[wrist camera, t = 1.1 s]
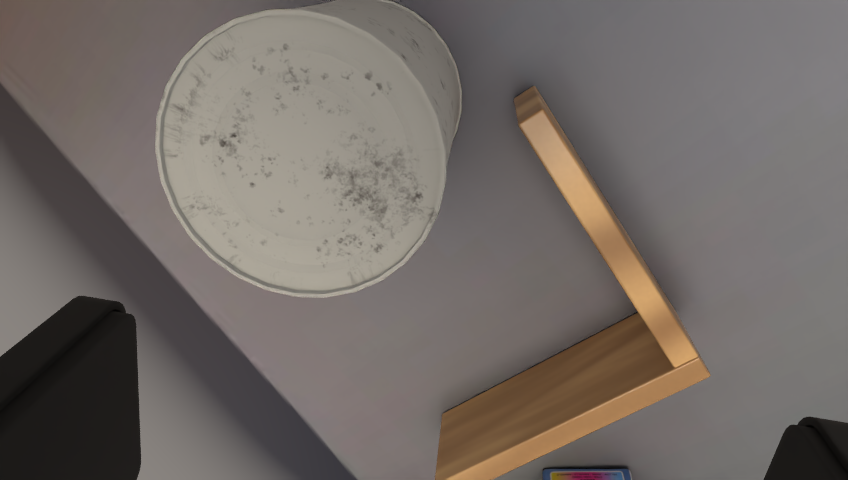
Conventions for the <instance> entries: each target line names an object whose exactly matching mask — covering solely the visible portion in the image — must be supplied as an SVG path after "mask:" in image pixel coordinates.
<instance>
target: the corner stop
mask: <svg viewBox="0 0 848 480" xmlns="http://www.w3.org/2000/svg"><path fill="white" fill-rule="evenodd" d="M514 104H515V109H516V115H517V121H518V126H519V128H520V129H521V131H522V132H523V134H524V135H525V137H526V139H527V140H528V142H529V143H530V145H531V146H532V148H533V149H534V151H535V153H536V154H537V156H538V157H539V159H540V160H541V162H542V163H543V165H544V167H545V168H546V170H547V171H548V173H549V174H550V176H551V177H552V179H553V181H554V182H555V184H556V185H557V187H558V188H559V190H560V191H561V193H562V195H563V196H564V198H565V199H566V201H567V202H568V204H569V205H570V207H571V208H572V210H573V212H574V213H575V215H576V216H577V218H578V219H579V221H580V222H581V224H582V226H583V227H584V229H585V230H586V232H587V233H588V235H589V236H590V238H591V240H592V241H593V243H594V244H595V246H596V247H597V249H598V250H599V252H600V254H601V255H602V257H603V258H604V260H605V261H606V263H607V264H608V266H609V268H610V269H611V271H612V272H613V274H614V275H615V277H616V278H617V280H618V282H619V283H620V285H621V286H622V288H623V289H624V291H625V292H626V294H627V296H628V297H629V299H630V300H631V302H632V303H633V305H634V306H635V308H636V310H637V311H638V313H636V314H634V315H632V316H630V317H628V318H627V319H625V320H623V321H621V322H619V323H617V324H615V325H613V326H611V327H609V328H607V329H605V330H603V331H601V332H600V333H598V334H596V335H594V336H592V337H590V338H588V339H586V340H584V341H582V342H580V343H578V344H576V345H574V346H572V347H571V348H569V349H567V350H565V351H563V352H561V353H559V354H557V355H555V356H553V357H551V358H549V359H547V360H545V361H544V362H542V363H540V364H538V365H536V366H534V367H532V368H530V369H528V370H526V371H524V372H522V373H520V374H518V375H516V376H515V377H513V378H511V379H509V380H507V381H505V382H503V383H501V384H499V385H497V386H495V387H493V388H491V389H489V390H488V391H486V392H484V393H482V394H480V395H478V396H476V397H474V398H472V399H470V400H468V401H466V402H464V403H462V404H460V405H459V406H457V407H455V408H453V409H451V410H449V411H447V412H445V413H443V414H442V421H441V430H440V439H439V448H438V457H437V466H436V475H435V480H492V479H494V478H496V477H498V476H501V475H503V474H505V473H507V472H509V471H511V470H513V469H515V468H518V467H520V466H522V465H524V464H526V463H528V462H530V461H532V460H535V459H537V458H539V457H541V456H543V455H545V454H547V453H549V452H551V451H554V450H556V449H558V448H560V447H562V446H564V445H566V444H568V443H571V442H573V441H575V440H577V439H579V438H581V437H583V436H585V435H587V434H590V433H592V432H594V431H596V430H598V429H600V428H602V427H604V426H607V425H609V424H611V423H613V422H615V421H617V420H619V419H621V418H623V417H626V416H628V415H630V414H632V413H634V412H636V411H638V410H640V409H643V408H645V407H647V406H649V405H651V404H653V403H655V402H657V401H660V400H662V399H664V398H666V397H668V396H670V395H672V394H674V393H676V392H679V391H681V390H683V389H685V388H687V387H689V386H691V385H693V384H696V383H698V382H700V381H702V380H704V379H706V378H708V377H710V373H709V371H708V369H707V367H706V365H705V364H704V362H703V360H702V358H701V356H700V354H699V353H698V351H697V349H696V347H695V345H694V344H693V342H692V340H691V338H690V336H689V334H688V333H687V331H686V329H685V327H684V325H683V323H682V322H681V320H680V318H679V316H678V314H677V313H676V311H675V309H674V308H673V306H672V305H671V303H670V301H669V300H668V299H667V297H666V295H665V293H664V292H663V290H662V289H661V287H660V285H659V284H658V282H657V281H656V279H655V277H654V276H653V274H652V273H651V271H650V269H649V268H648V266H647V265H646V263H645V261H644V260H643V258H642V257H641V255H640V253H639V252H638V250H637V249H636V247H635V245H634V244H633V242H632V241H631V239H630V237H629V236H628V234H627V233H626V231H625V229H624V228H623V226H622V225H621V223H620V221H619V220H618V218H617V217H616V215H615V213H614V212H613V210H612V209H611V207H610V205H609V204H608V202H607V200H606V199H605V197H604V196H603V194H602V192H601V191H600V189H599V188H598V186H597V184H596V183H595V181H594V180H593V178H592V176H591V175H590V173H589V172H588V170H587V168H586V167H585V165H584V164H583V162H582V160H581V159H580V157H579V156H578V154H577V152H576V151H575V149H574V148H573V146H572V144H571V143H570V141H569V140H568V138H567V136H566V135H565V133H564V132H563V130H562V128H561V127H560V125H559V124H558V122H557V120H556V119H555V117H554V116H553V114H552V112H551V111H550V109H549V108H548V106H547V104H546V103H545V101H544V100H543V98H542V96H541V95H540V93H539V92H538V90H537V88H536V87H535V86H532V87H531V88H529V89H528V90H526V91H525V92H523V93H522V94H520V95H519V96H517V97H516V98H514Z"/></svg>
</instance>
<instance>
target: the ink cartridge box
mask: <svg viewBox="0 0 848 480" xmlns="http://www.w3.org/2000/svg"><path fill="white" fill-rule="evenodd" d="M543 480H632V476H631V472H630V470H629V469H545V470H544V471H543Z"/></svg>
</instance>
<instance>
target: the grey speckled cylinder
mask: <svg viewBox="0 0 848 480" xmlns="http://www.w3.org/2000/svg"><path fill="white" fill-rule="evenodd" d="M461 112H462V87H461V82H460V78H459V73H458V69H457V65H456V63H455V61H454V59H453V57H452V55H451V52H450V50H449V48H448V46H447V44H446V43H445V42H444V41H443V39H442V38H441V37H440V35H439V34H438V33H437V32H436V30H435V29H434V28H433V27H432V26H431V25H430V24H429V23H428V22H426V21H425V20H424V19H423V18H421V17H420V16H419V15H418V14H417V13H415V12H414V11H412V10H410V9H408V8H406V7H404V6H402V5H399V4H397V3H395V2H393V1H388V0H335V1H331V2H328V3H323V4H317V5H311V6H306V7H300V8H294V9H267V10H264V11H260V12H256V13H253V14H249V15H245V16H241V17H238V18H234V19H232V20H231V21H229V22H227V23H225V24H224V25H222V26H220V27H218V28H217V29H215V30H213V31H211V32H210V33H208V34H206V35H205V36H204V37H203V38H202V39H201V40H200V41H199V42H198V43H197V44H196V45H195V46H194V47H193V48H192V49H191V50H190V51H189V52H188V53H187V54H186V55H185V56H184V57H183V58H182V59H181V61H180V63H179V64H178V66H177V68H176V69H175V71H174V73H173V74H172V76H171V78H170V79H169V81H168V83H167V84H166V87H165V90H164V94H163V97H162V100H161V104H160V107H159V110H158V114H157V121H156V139H155V151H156V157H157V163H158V169H159V175H160V180H161V183H162V185H163V188H164V190H165V193H166V195H167V198H168V200H169V203H170V205H171V208H172V210H173V212H174V213H175V215H176V216H177V218H178V219H179V221H180V222H181V224H182V226H183V227H184V229H185V230H186V232H187V233H188V235H189V236H190V237H191V238H192V239H193V240H194V241H195V243H196V244H197V245H198V246H199V247H200V248H201V249H202V250H203V251H204V252H205V253H206V254H207V255H208V256H209V257H210V258H211V259H212V260H213V261H215V262H216V263H218V264H219V265H221V266H222V267H223V268H225V269H226V270H228V271H229V272H231V273H232V274H233V275H235V276H236V277H238V278H240V279H242V280H245V281H247V282H249V283H251V284H253V285H256V286H258V287H260V288H262V289H265V290H268V291H272V292H277V293H281V294H285V295H290V296H294V297H320V298H326V297H331V296H337V295H342V294H348V293H353V292H356V291H359V290H361V289H363V288H366V287H368V286H370V285H373V284H375V283H377V282H380V281H382V280H383V279H385V278H386V277H388V276H389V275H390V274H392V273H393V272H394V271H396V270H397V269H399V268H400V267H401V266H403V265H404V264H405V263H406V262H407V261H408V260H409V259H410V258H411V256H412V255H413V254H414V253H415V252H416V251H417V249H418V248H419V247H420V246H421V245H422V244H423V242H424V241H425V240H426V238H427V236H428V234H429V232H430V230H431V228H432V226H433V224H434V222H435V220H436V218H437V216H438V214H439V210H440V206H441V202H442V197H443V193H444V189H445V185H446V167H447V163H448V159H449V155H450V150H451V146H452V142H453V139H454V137H455V135H456V133H457V129H458V124H459V120H460V116H461Z"/></svg>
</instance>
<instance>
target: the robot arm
mask: <svg viewBox="0 0 848 480" xmlns="http://www.w3.org/2000/svg"><path fill="white" fill-rule="evenodd" d="M138 395H139V394H138V368H137V339H136V322H135V318H134V316H133V315H131V314H127V313H126V311H125V308H124V306H123V304H121V303H120V302H117V301H110V300H105V299H99V298H93V297H86V296H78V297H76V298H74V299H72V300H71V301H70V302H69V303H67V304H66V305H65V306H64V307H62V308H61V309H60V310H59V311H57V312H56V313H55V314H54V315H52V316H51V317H50V318H49V319H47V320H46V321H45V322H44V323H42V324H41V325H40V326H38V327H37V328H36V329H35V330H33V331H32V332H31V333H30V334H28V335H27V336H26V337H25V338H23V339H22V340H21V341H20V342H18V343H17V344H16V345H14V346H13V347H12V348H11V349H9V350H8V351H7V352H6V353H4V354H3V355H2V356H1V357H0V480H137V477H138V474H139V471H140V465H141V447H140V421H139V396H138ZM764 480H848V423H844V422H838V421H832V420H826V419H820V418H814V417H806V418H803V419H802V420H801V421H800V422H799V423H798V425H790V426H789V427H788V428H786V430H785V432H784V433H783V436H782V438H781V440H780V443H779V445H778V447H777V450H776V452H775V454H774V457H773V459H772V461H771V464H770V466H769V468H768V471H767V473H766V475H765V478H764Z"/></svg>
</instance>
